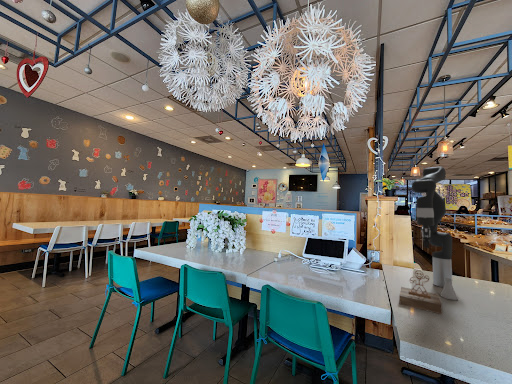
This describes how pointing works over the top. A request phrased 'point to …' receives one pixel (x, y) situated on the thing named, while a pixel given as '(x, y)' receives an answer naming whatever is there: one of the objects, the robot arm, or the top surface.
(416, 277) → the gingerbread man figurine
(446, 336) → the top surface
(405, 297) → the walnut plinth
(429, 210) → the robot arm
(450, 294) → the flask
